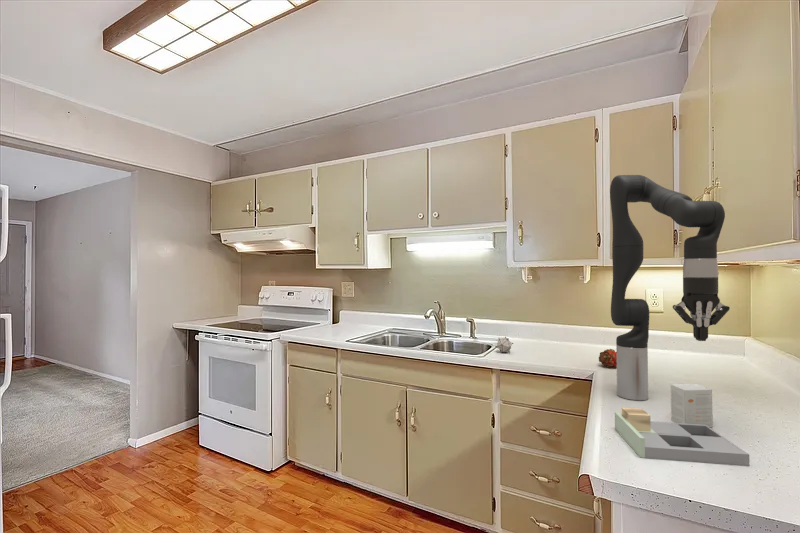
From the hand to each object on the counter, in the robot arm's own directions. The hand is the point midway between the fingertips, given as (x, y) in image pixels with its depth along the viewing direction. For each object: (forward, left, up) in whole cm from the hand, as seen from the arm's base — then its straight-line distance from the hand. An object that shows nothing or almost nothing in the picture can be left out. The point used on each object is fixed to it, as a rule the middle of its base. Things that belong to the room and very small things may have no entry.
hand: (700, 340), depth 105 cm
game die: (-94, -45, -25) cm, 107 cm away
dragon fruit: (-71, -1, -25) cm, 76 cm away
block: (+6, -18, -22) cm, 29 cm away
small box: (-5, 0, -25) cm, 25 cm away
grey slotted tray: (+10, -11, -24) cm, 29 cm away
